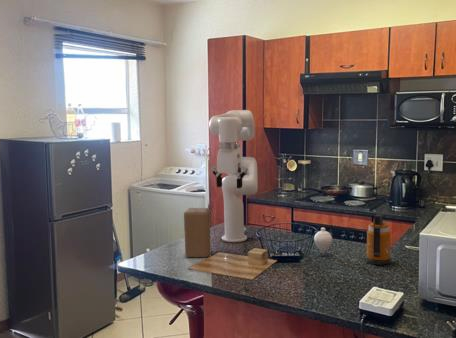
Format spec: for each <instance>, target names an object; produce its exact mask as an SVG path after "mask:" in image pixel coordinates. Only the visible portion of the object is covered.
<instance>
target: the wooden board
mask: <svg viewBox="0 0 456 338" xmlns="http://www.w3.org/2000/svg"><path fill="white" fill-rule="evenodd" d="M276 262H278V260H277V259H272V258H271V259H270V258H268V262H266V263H265V264H264V265H262V266H259V265H252V264H248V255H241V254H234V253H229V252H228V253H227V252H221V251H219V252H217V253H215V254H213V255H211V256H210V257H209V256H208V257H207V258H206V259H204V260H202V261H200V262H198V263H197V264H195V265H193V266H191V267H189V268H188V270H193V271H200V272H205V273H210V274H216V275H222V276H227V277H233V278H234V277H235V278H241V279H247V280H254V279H255V278H256V277H258V276H259V275H260V274H261V273H263V272H264V271H265V270H267V269H268V268H270V267H271V266H272V265H273V264H274V263H276Z"/></svg>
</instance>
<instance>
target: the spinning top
mask: <svg viewBox="0 0 456 338" xmlns="http://www.w3.org/2000/svg"><path fill="white" fill-rule="evenodd" d="M313 241H314V244H315V246H316V247H317V249H318V250H319V251H320V252H321V253H322V256H324V254H325V253H326V252H327V250H329V248H330V246H331V244H332V242H333V235H332V234H331V233H330V232H329V231H327V230H326V228H325V227H320V230H318V231H317V232H316V233H315V235H314V237H313Z"/></svg>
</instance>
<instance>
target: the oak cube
mask: <svg viewBox="0 0 456 338" xmlns="http://www.w3.org/2000/svg"><path fill="white" fill-rule="evenodd" d="M268 253H269V251H268V249H265V248H257V247H254V248H252V249H251V250H249V251H247V256H248V264H252V265H259V266H262V265H264V264H265V263H266V262H268V259H269V258H268Z"/></svg>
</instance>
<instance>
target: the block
mask: <svg viewBox="0 0 456 338" xmlns="http://www.w3.org/2000/svg"><path fill="white" fill-rule="evenodd" d="M183 227H184V255H185V257H186V258H209V255H210V253H211V250H212V236H211V234H212V233H211V209H210V208H209V207H189V208H187V209H186V210H185V211H184V212H183Z"/></svg>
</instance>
